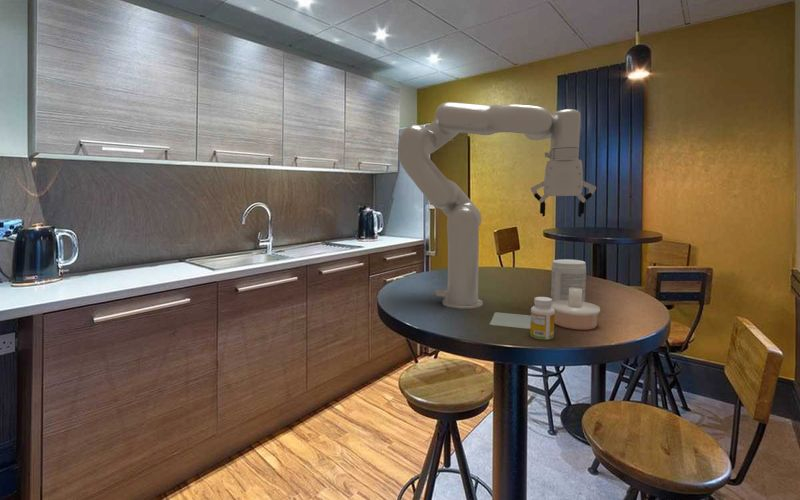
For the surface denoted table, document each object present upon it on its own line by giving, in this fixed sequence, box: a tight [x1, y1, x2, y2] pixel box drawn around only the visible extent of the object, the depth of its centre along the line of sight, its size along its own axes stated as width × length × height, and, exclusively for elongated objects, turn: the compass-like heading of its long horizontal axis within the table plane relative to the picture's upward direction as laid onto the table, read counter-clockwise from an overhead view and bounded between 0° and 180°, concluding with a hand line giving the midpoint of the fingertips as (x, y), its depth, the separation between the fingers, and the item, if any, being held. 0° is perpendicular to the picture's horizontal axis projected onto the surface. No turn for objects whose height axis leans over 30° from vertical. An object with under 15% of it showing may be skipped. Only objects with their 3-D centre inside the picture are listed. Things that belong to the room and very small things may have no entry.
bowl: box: [554, 310, 599, 330], centre depth 104 cm, size 11×11×4 cm
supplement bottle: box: [529, 296, 555, 340], centre depth 94 cm, size 5×5×10 cm
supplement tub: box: [550, 258, 587, 302], centre depth 119 cm, size 10×10×15 cm
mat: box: [489, 311, 531, 330], centre depth 107 cm, size 12×12×1 cm
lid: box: [551, 288, 601, 316], centre depth 103 cm, size 12×12×5 cm
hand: (561, 216), depth 113 cm, fingers open, 9 cm apart
